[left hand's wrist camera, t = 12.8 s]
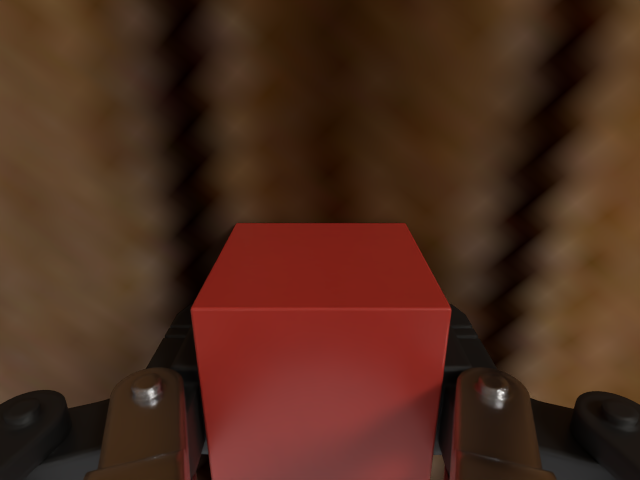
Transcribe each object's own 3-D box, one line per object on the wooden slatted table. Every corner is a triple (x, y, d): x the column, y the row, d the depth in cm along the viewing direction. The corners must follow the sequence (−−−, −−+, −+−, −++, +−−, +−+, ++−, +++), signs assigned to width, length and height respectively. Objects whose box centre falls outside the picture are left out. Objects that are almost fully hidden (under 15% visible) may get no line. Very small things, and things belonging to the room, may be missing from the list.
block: (405, 222, 12) (453, 308, 8) (393, 380, 14) (426, 517, 9) (235, 222, 12) (188, 307, 8) (247, 380, 14) (215, 518, 9)
